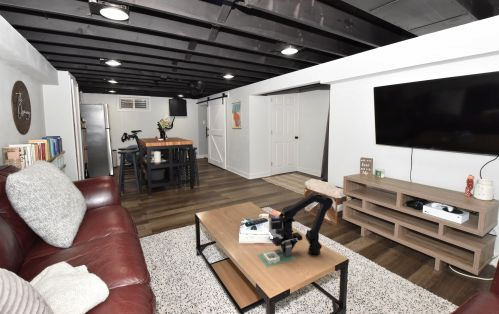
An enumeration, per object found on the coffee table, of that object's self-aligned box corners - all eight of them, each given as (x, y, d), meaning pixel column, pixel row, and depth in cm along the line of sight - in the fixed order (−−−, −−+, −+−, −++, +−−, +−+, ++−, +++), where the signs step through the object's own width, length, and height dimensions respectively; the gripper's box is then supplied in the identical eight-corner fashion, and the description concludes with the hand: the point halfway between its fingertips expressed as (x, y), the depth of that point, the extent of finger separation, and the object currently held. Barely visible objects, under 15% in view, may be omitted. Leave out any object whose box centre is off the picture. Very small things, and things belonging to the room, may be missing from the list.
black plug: (288, 252, 151) (288, 241, 150) (291, 256, 147) (291, 244, 146) (282, 254, 149) (282, 242, 148) (286, 257, 146) (286, 245, 144)
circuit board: (284, 249, 157) (284, 244, 156) (296, 260, 144) (296, 255, 143) (257, 256, 149) (257, 251, 149) (267, 269, 137) (267, 263, 136)
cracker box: (268, 239, 170) (268, 212, 166) (273, 236, 174) (273, 209, 171) (285, 246, 161) (285, 217, 158) (289, 242, 166) (290, 214, 162)
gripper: (293, 220, 156) (292, 242, 159) (267, 225, 149) (268, 248, 152) (303, 227, 146) (302, 250, 149) (276, 233, 139) (276, 257, 142)
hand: (287, 251), depth 148 cm, fingers open, 5 cm apart
